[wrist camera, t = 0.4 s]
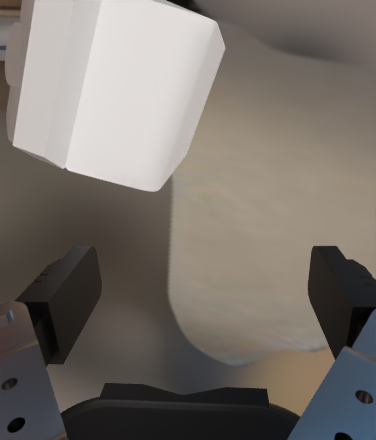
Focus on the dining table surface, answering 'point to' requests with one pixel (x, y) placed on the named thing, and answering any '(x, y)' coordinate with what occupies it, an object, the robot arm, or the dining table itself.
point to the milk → (109, 85)
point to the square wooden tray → (10, 8)
